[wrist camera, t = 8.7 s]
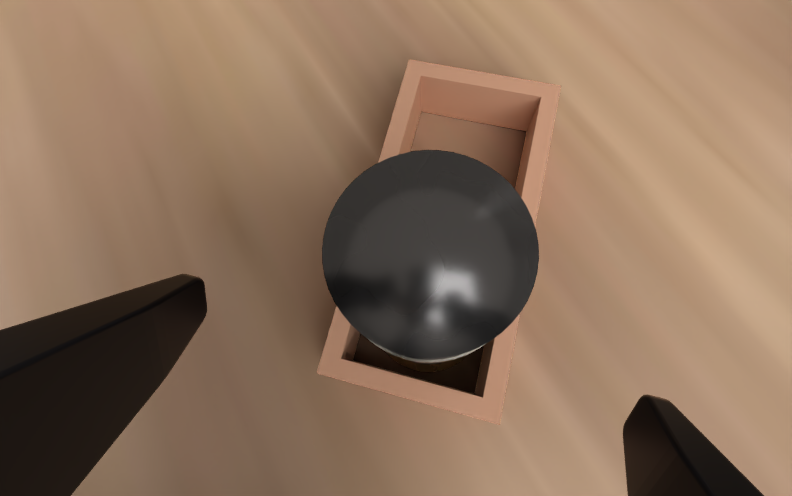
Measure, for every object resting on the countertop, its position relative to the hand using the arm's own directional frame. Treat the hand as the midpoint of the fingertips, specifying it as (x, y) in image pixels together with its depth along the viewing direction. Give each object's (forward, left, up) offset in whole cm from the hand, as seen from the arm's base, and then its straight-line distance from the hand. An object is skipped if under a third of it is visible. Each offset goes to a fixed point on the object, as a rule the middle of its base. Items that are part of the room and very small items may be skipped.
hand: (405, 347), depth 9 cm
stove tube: (+2, +1, -12) cm, 12 cm away
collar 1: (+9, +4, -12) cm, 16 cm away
